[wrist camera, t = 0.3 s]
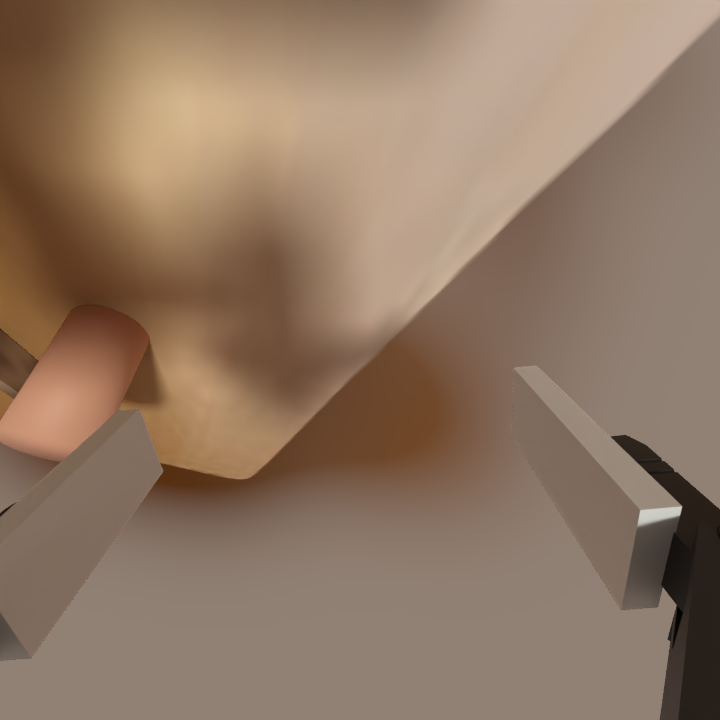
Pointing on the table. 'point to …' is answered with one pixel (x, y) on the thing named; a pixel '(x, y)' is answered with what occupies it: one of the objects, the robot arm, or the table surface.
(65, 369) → the pink rounded cylinder
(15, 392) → the wooden plank
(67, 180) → the table surface
